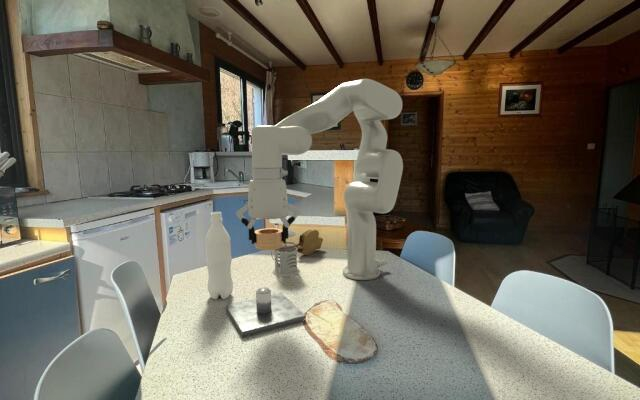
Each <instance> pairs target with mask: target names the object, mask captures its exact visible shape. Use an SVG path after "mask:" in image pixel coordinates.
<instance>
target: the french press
mask: <svg viewBox="0 0 640 400" xmlns="http://www.w3.org/2000/svg"><path fill="white" fill-rule="evenodd" d="M280 229H281V230H282V228H280ZM297 233H298V232H297V231H296V230H294V229H290V228H288V238H291V237H295V236H296V235H297ZM296 244H297V243H295V242H293V241H292V242H291V241H289V242H288V241H286V243H284V242H283V247H281V248H279V249H274V251H272V250H270V255H271V258H272V260H273V261H274V269H273V270H272V275H274V276H276V277H293V276H295V275H299V273H301V269H299V267H298V257H297V255H298V252H297V249H298V248H297V247H295V245H296ZM273 252H274V257H273Z"/></svg>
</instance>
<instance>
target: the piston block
mask: <svg viewBox="0 0 640 400" xmlns="http://www.w3.org/2000/svg"><path fill="white" fill-rule="evenodd" d="M271 292H272V290H271V289H270V288H268V287H267V286H266V287H265V286H264V287H262V286H261V287H259V288H258V289H257V290H256V291H255V298H251V299H246V300H243V301H238V302H233V303H229V304H225V311H226V313H227V315H228V316H229V318H230V320H231V321H232V323H233V324H234V326H235V328H236V330H237V331H238V333H239V334H240V336H241V337H242V339H245V338H247V337H252V336H255V335H259V334H262V333H263V334H264V333H265V332H269V331H273V330H277V329H280V328H285V327H289V326H293V325H296V324H300V323H303V322H304V321H303V320H304V319H305V318H306V314H304V312H302V310H300V309H299V308H298V307H297V306H296V305H295V304H294V303H293V302H292V301H291V300H290V299H289V298H288V297H286V296H285V294H283V293H282V292H279V293H273V294H272V293H271Z"/></svg>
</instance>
